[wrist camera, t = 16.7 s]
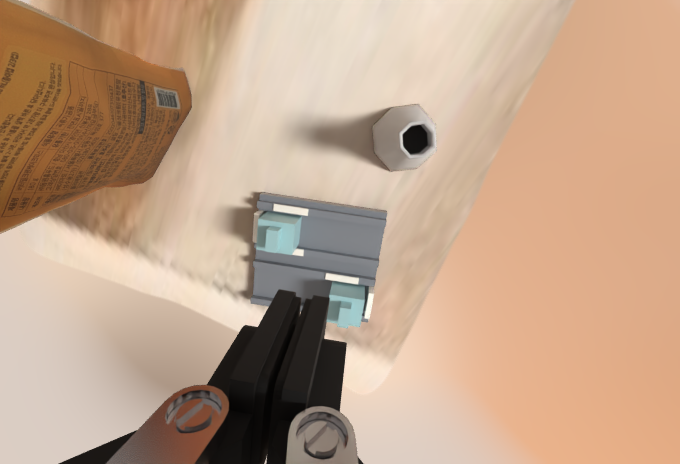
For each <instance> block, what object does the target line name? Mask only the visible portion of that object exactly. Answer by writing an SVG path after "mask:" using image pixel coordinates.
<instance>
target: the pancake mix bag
mask: <svg viewBox="0 0 680 464" xmlns="http://www.w3.org/2000/svg"><path fill="white" fill-rule="evenodd" d="M191 108H192V106H191V92H190V88H189V84H188V81H187V78H186V75H185V72H184V70H183V68H170V67H164V66H160V65H155V64H151V63H148V62H146V61H143V60H141V59H140V58H139V57H137V56H136V55H134V54H131V53H129V52H126V51H123V50H121V49H119V48H116V47H114V46H112V45H109V44H107V43H104V42H102V41H99V40H97V39H95V38H93V37H92V36H90V35H89V34H87V33H85V32H84V31H82V30H80V29H78V28H77V27H75V26H73V25H71V24H70V23H67V22H65V21H63V20H61V19H59V18H57V17H54V16H52V15H50V14H48V13H46V12H44V11H42V10H40V9H38V8H36V7H34V6H31V5H29V4H27V3H24V2H22V1H19V0H0V234H1V233H3V232H6V231H8V230H10V229H12V228H15V227H17V226H19V225H21V224H23V223H25V222H27V221H30V220H32V219H34V218H36V217H39V216H41V215H43V214H45V213H47V212H50V211H52V210H54V209H57V208H59V207H62V206H65V205H67V204H69V203H72V202H74V201H76V200H78V199H80V198H82V197H84V196H86V195H88V194H90V193H92V192H94V191H96V190H99V189H101V188H103V187H123V186H127V185H131V184H140V183H144V182H145V181H147V180H148V179H150V178H151V177H153V175H154V173H155V171H156V170H157V168H158V166H159V164H160V162H161V161H162V159H163V157H164V155H165V154H166V152H167V150H168V148H169V146H170V145H171V143H172V141H173V139H174V137H175V135H176V133H177V131H178V130H179V128H180V126H181V125H182V123H183V121H184V120H185V118H186V117H187V115H188V113H189V111H190V110H191Z"/></svg>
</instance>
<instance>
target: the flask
mask: <svg viewBox="0 0 680 464" xmlns="http://www.w3.org/2000/svg"><path fill="white" fill-rule="evenodd" d="M372 131H373V143H374V153H375V154H376V155H377V156H378V158H379V159H380V160H381V161H382V162H383V163H384V164H385V165H386V166H387V168H388V169H389V170H390V171H391V172H393V171H402V170H411V169H417V168H418V167H419V166H420V165H422V164H423V163H424V162H425V161H426V160H427V159H428V158H429V157H430V156H432V155H433V154H434V153H435V152H436V151H437V147H436V124H435V123H434V122H433V120H432V119H431V118H430V117H429V116H428V115H427V113H426V112H425V111H424V110H423V109H422V108H421V106H420V105H419V104H415V105H407V106H399V107H392V108H391V109H390V110H389V111H388V112H387V113H386V114H385V115H383V116H382V117H381V118H380V119H379V120H378V121H377V122H376V123H375V124H374V125H373V126H372Z"/></svg>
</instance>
